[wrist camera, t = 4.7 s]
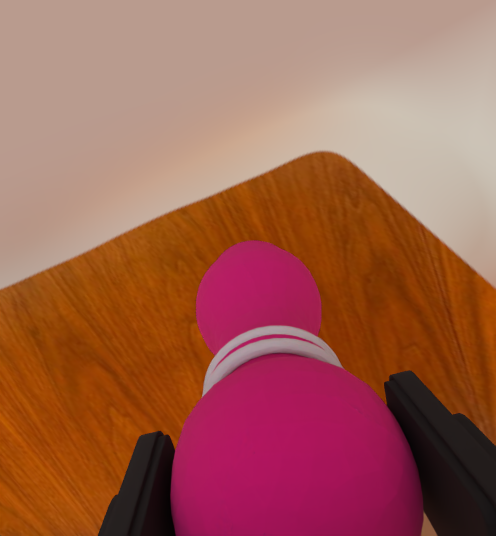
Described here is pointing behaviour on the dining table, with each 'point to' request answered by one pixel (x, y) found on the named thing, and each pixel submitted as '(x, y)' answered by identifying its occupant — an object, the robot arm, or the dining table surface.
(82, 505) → the dining table surface
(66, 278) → the dining table surface
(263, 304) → the pepper mill
